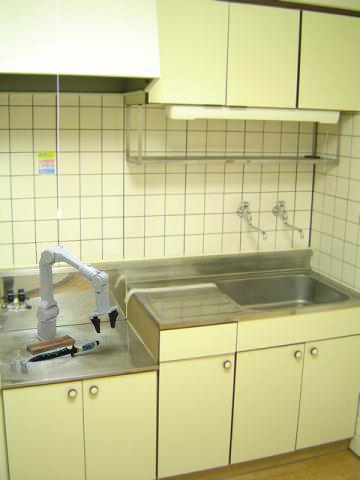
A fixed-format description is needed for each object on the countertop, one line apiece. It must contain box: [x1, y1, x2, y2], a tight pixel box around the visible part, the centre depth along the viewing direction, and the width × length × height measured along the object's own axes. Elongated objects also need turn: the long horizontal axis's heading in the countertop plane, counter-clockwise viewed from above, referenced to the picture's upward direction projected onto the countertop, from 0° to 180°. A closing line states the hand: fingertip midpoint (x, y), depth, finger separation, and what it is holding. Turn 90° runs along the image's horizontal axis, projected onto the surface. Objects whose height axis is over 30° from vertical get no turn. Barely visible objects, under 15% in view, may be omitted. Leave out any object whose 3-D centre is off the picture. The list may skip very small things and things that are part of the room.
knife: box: [28, 340, 101, 363], centre depth 230 cm, size 31×3×4 cm, turn 110°
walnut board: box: [26, 334, 76, 356], centre depth 240 cm, size 7×20×2 cm, turn 129°
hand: (105, 330), depth 235 cm, fingers open, 7 cm apart
